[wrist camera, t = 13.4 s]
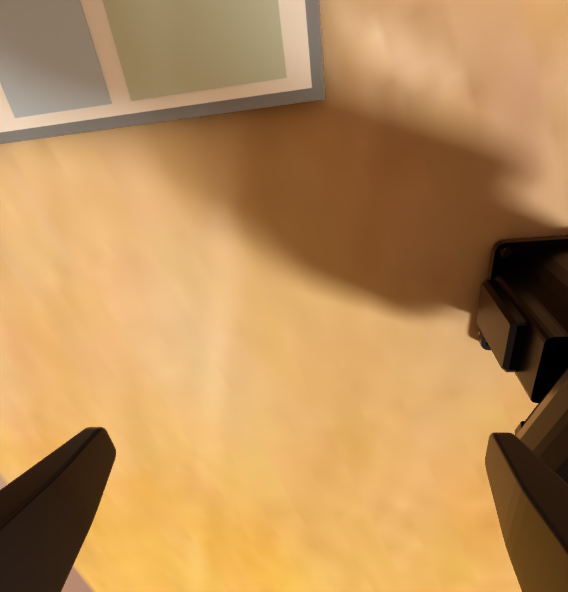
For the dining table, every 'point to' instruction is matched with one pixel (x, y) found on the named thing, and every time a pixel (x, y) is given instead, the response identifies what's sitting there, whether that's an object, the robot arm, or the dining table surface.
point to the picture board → (151, 61)
